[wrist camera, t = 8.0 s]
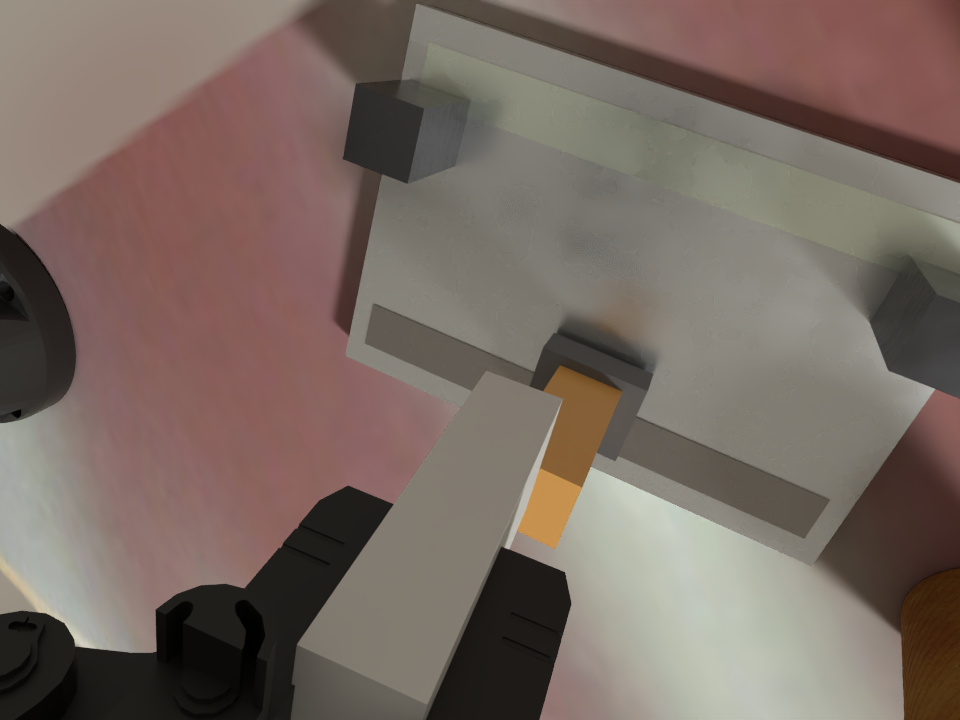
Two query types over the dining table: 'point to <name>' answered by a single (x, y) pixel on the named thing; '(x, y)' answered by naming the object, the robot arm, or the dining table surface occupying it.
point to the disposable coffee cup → (932, 648)
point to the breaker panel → (658, 269)
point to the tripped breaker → (579, 426)
